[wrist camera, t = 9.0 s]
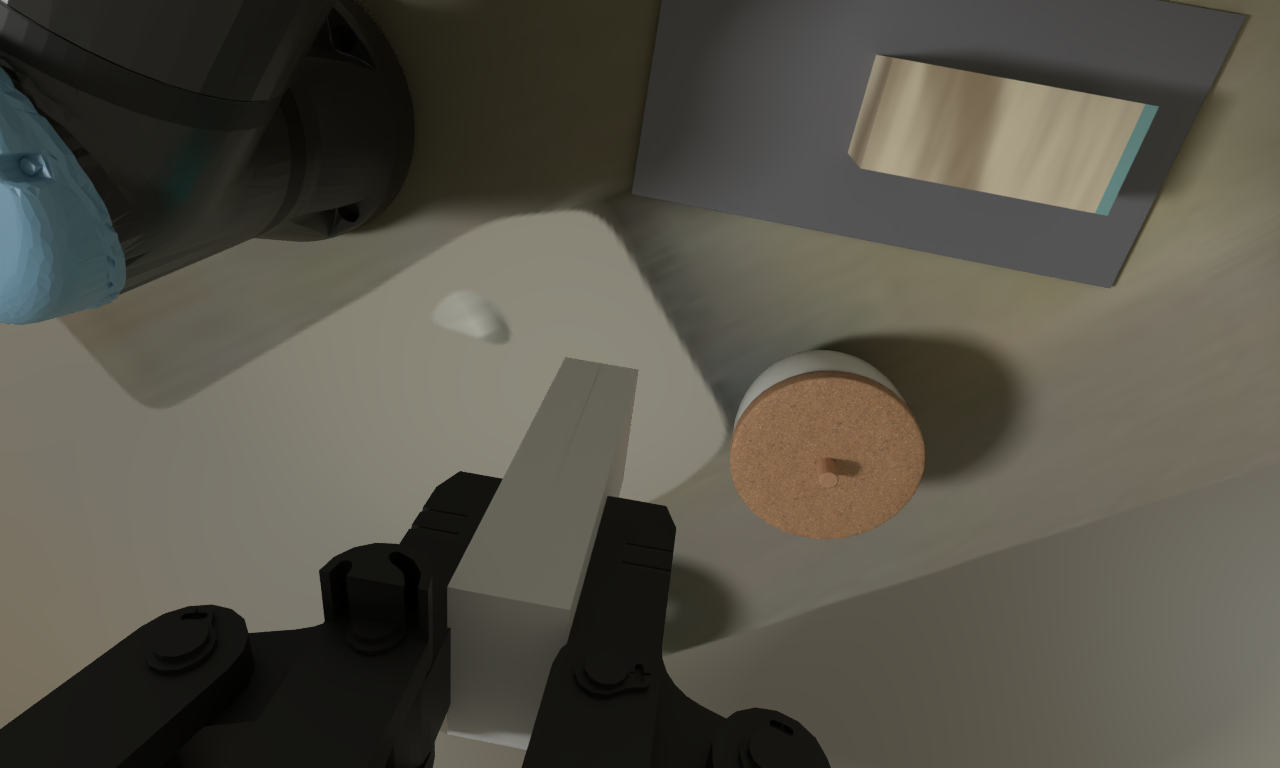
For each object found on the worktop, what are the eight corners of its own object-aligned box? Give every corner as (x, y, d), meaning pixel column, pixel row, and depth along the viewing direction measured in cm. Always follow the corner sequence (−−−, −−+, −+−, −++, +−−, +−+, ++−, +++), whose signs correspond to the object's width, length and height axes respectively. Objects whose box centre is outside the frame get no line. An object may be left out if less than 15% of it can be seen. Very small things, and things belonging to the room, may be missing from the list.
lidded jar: (930, 358, 44) (973, 434, 36) (853, 489, 49) (875, 583, 41) (770, 300, 44) (775, 362, 36) (709, 437, 49) (700, 521, 40)
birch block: (860, 168, 35) (1107, 215, 34) (893, 57, 32) (1159, 106, 32) (847, 153, 39) (1066, 194, 38) (876, 54, 37) (1108, 97, 36)
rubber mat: (632, 192, 42) (631, 193, 42) (675, -85, 36) (675, -86, 35) (1107, 286, 41) (1110, 288, 40) (1241, 15, 34) (1246, 15, 34)
